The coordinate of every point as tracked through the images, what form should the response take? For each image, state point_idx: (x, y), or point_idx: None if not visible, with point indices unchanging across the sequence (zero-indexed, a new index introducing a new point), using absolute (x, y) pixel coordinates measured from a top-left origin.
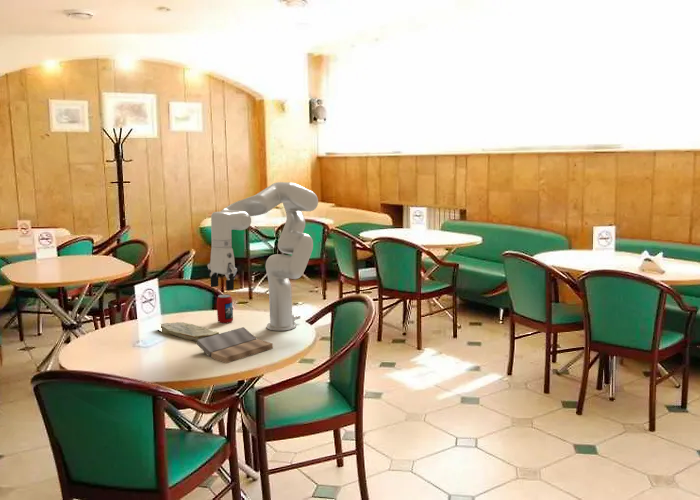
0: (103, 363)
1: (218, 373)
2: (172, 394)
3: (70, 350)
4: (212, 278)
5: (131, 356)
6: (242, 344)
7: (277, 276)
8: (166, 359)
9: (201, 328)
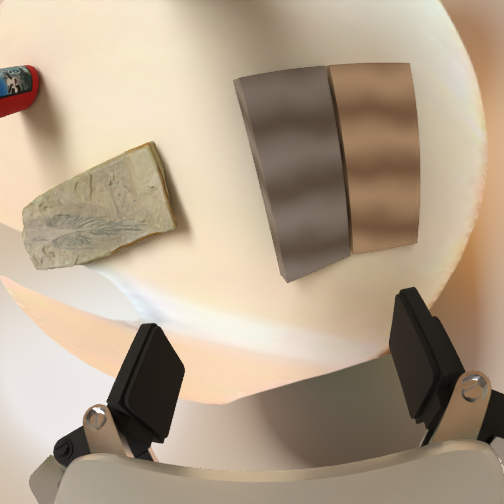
0: (224, 382)
1: (441, 274)
2: None
3: None
4: (165, 428)
5: (210, 352)
6: (353, 142)
7: None
8: (277, 321)
9: (84, 183)
